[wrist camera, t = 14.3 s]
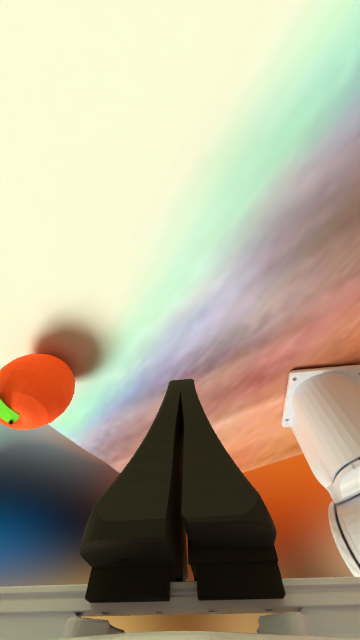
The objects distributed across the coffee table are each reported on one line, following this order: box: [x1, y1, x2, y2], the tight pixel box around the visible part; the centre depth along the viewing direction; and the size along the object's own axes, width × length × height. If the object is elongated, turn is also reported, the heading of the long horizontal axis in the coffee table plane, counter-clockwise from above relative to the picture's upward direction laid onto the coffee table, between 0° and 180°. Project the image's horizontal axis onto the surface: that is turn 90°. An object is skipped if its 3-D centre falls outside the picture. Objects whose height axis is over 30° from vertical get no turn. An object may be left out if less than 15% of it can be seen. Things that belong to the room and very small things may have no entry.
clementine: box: [0, 354, 75, 429], centre depth 21 cm, size 8×7×7 cm
